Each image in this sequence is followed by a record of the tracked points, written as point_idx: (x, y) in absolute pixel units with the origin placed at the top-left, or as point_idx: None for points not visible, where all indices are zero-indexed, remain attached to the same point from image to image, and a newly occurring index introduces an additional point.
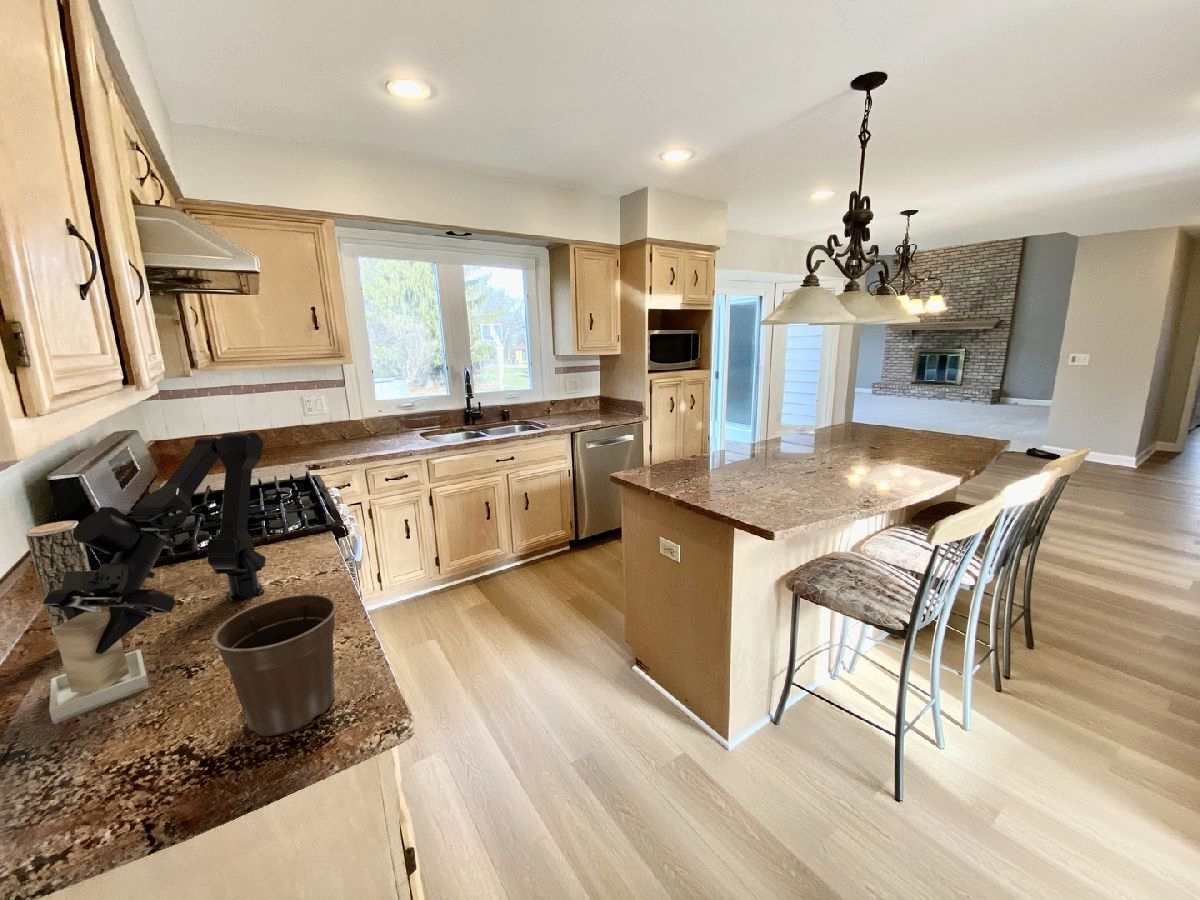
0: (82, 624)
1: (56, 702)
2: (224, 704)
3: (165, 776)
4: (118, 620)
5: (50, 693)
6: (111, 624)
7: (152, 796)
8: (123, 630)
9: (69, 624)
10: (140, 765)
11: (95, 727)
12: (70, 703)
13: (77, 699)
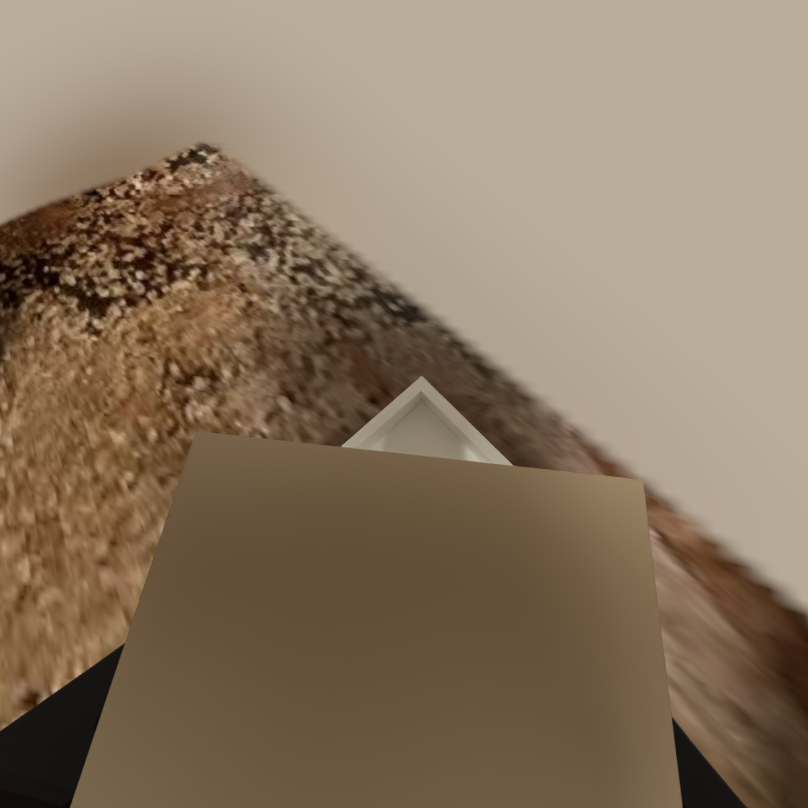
0: (277, 547)
1: (456, 430)
2: (54, 425)
3: (103, 257)
4: (3, 730)
5: (504, 457)
6: None
7: (107, 228)
8: None
9: (486, 574)
10: (154, 278)
11: (309, 374)
12: (391, 404)
13: (382, 417)
